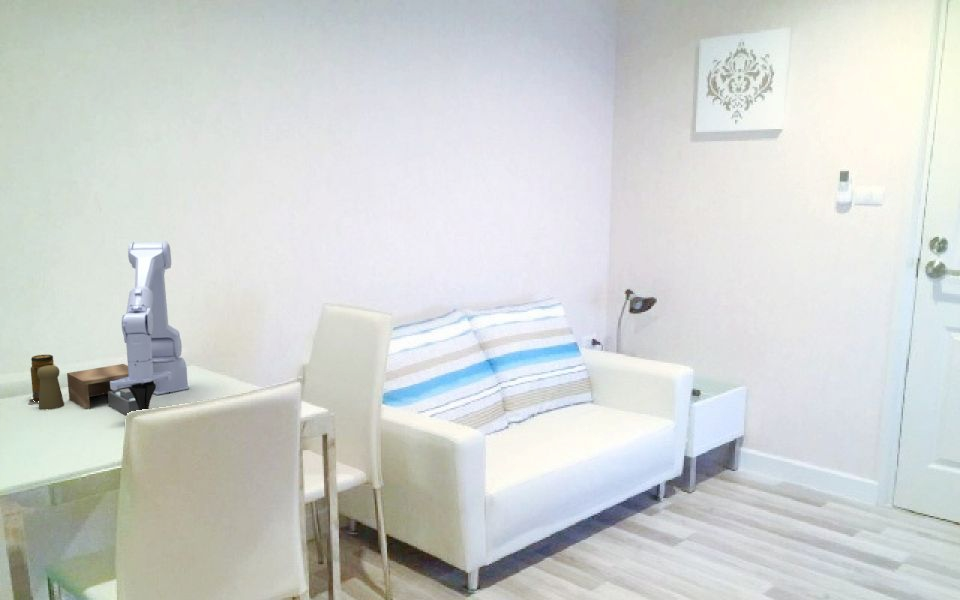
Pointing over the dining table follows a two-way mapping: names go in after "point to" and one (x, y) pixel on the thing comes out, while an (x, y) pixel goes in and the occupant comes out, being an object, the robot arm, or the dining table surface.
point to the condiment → (36, 364)
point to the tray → (122, 401)
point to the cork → (49, 388)
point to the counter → (93, 382)
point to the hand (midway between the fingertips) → (143, 412)
